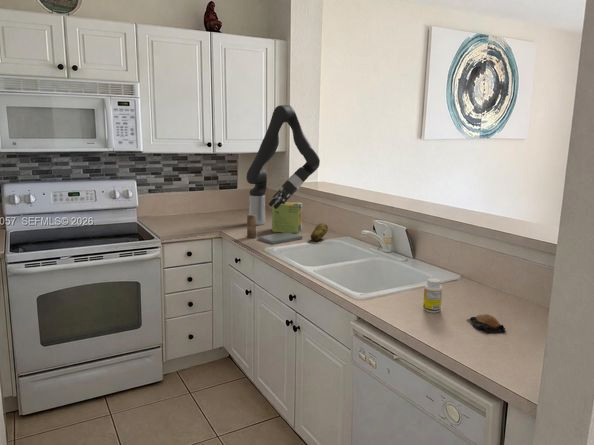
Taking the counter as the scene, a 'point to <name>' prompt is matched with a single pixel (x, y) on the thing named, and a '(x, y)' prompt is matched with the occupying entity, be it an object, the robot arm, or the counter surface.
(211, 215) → the counter surface
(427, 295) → the supplement bottle
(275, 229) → the protein box
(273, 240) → the slate board
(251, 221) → the walnut roller
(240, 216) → the counter surface
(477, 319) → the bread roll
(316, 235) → the potato
